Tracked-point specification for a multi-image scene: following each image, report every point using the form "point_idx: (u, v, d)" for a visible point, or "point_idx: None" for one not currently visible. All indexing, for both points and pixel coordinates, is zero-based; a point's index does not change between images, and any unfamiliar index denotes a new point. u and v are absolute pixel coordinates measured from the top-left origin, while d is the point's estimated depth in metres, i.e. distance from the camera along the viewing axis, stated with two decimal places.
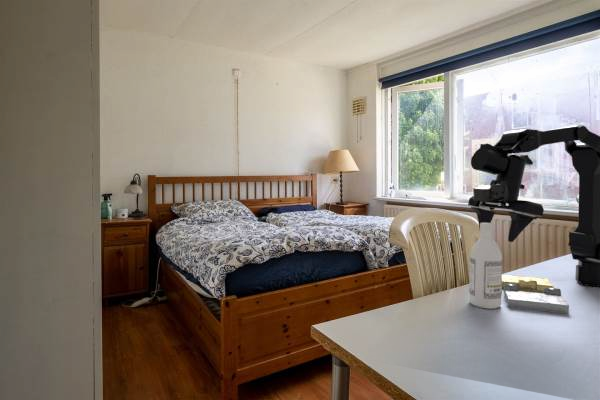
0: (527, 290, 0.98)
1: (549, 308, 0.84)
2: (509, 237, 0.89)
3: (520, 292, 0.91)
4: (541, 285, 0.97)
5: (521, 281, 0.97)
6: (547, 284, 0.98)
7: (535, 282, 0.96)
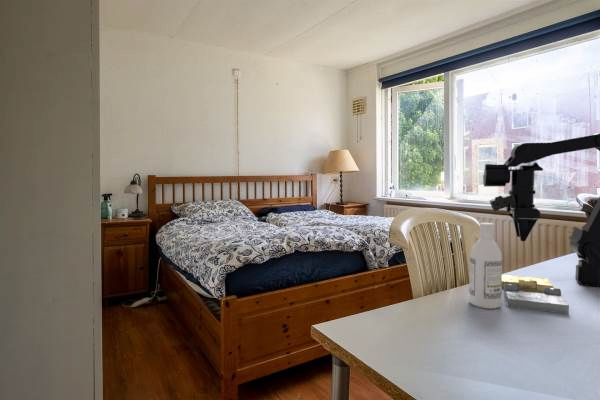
0: (527, 290, 0.98)
1: (549, 308, 0.84)
2: (520, 237, 1.05)
3: (520, 292, 0.91)
4: (541, 285, 0.97)
5: (521, 281, 0.97)
6: (547, 284, 0.98)
7: (535, 282, 0.96)
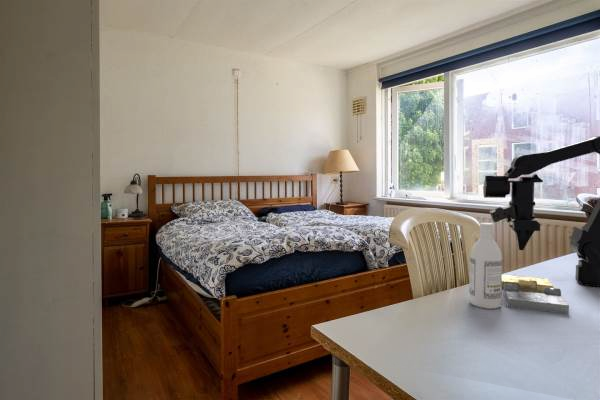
0: (527, 290, 0.98)
1: (549, 308, 0.84)
2: (518, 246, 1.09)
3: (520, 292, 0.91)
4: (541, 285, 0.97)
5: (521, 281, 0.97)
6: (547, 284, 0.98)
7: (535, 282, 0.96)
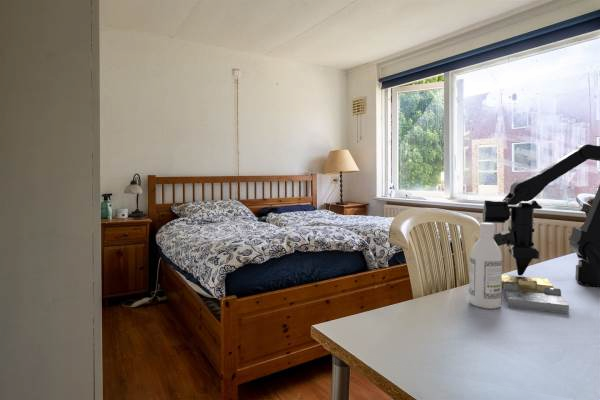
0: (527, 290, 0.98)
1: (549, 308, 0.84)
2: (517, 272, 1.09)
3: (520, 292, 0.91)
4: (541, 285, 0.97)
5: (521, 281, 0.97)
6: (547, 284, 0.98)
7: (535, 282, 0.96)
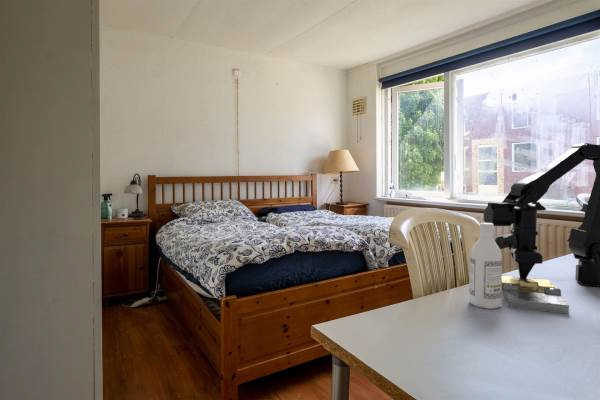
0: None
1: (549, 308, 0.84)
2: (520, 276, 1.04)
3: (520, 292, 0.91)
4: (542, 286, 0.96)
5: (522, 282, 0.96)
6: (548, 285, 0.96)
7: (536, 283, 0.95)
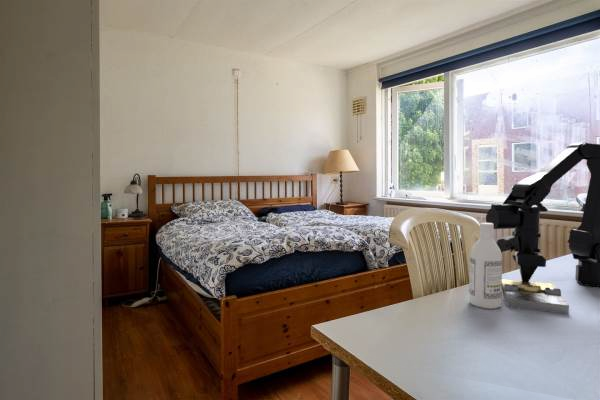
0: None
1: (549, 308, 0.84)
2: (522, 280, 1.01)
3: (520, 292, 0.91)
4: None
5: (524, 286, 0.93)
6: None
7: (539, 287, 0.92)
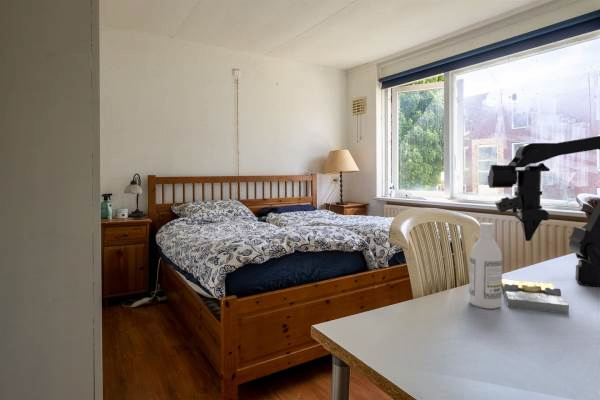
0: None
1: (549, 308, 0.84)
2: (525, 237, 1.06)
3: (520, 292, 0.91)
4: None
5: (524, 287, 0.93)
6: None
7: (539, 288, 0.92)
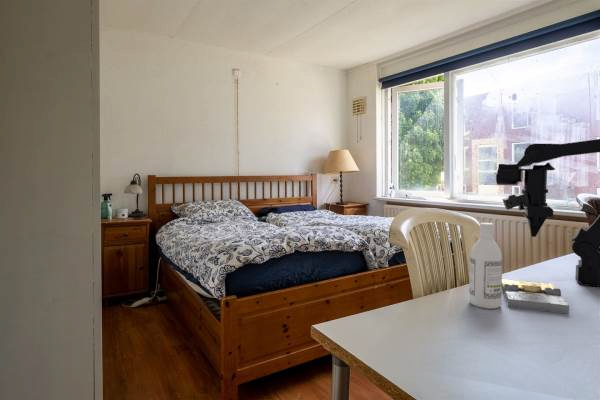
0: None
1: (549, 308, 0.84)
2: (531, 233, 1.12)
3: (520, 292, 0.91)
4: None
5: (524, 287, 0.93)
6: None
7: (539, 288, 0.92)
